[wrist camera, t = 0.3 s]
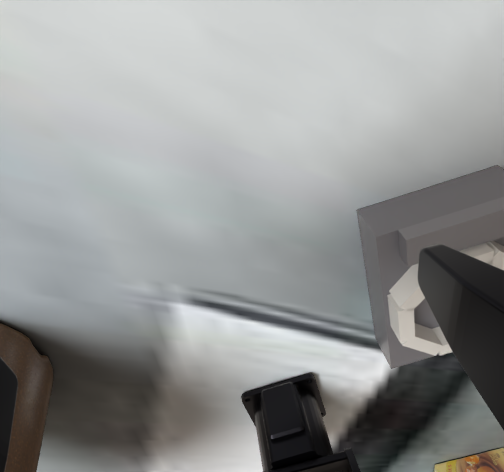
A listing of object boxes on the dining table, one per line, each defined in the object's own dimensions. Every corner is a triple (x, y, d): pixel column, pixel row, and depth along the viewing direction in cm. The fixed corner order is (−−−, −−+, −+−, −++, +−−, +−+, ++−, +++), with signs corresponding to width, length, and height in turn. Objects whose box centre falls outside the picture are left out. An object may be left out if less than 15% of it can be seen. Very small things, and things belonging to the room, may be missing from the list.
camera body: (483, 305, 32) (521, 350, 28) (375, 338, 32) (400, 386, 29) (497, 165, 24) (553, 200, 21) (356, 209, 25) (387, 252, 21)
